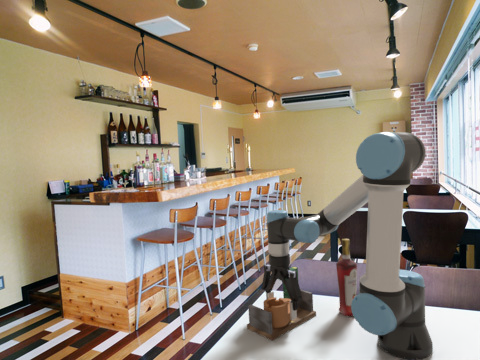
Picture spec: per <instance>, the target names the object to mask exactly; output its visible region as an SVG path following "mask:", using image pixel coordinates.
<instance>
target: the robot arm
mask: <svg viewBox="0 0 480 360" xmlns="http://www.w3.org/2000/svg"><path fill="white" fill-rule="evenodd" d="M425 159H426V146H425V144H424V143H423V141H422V140H421V138H419V137H418V136H417V135H415V134H413V133H410V132H405V131H402V132H397V131H396V132H393V131H383V132H382V131H381V132H377V133H372V134H370V135H368V136H367V137H366V138H364V139H363V141H362V142H361V143H360V144H359V145H358V148H357V150H356V154H355V164H356V166H357V169H358V170H359V171H360V173H361V174H362V175H361V176H360V177H358V178H357V179H356V180H355V181H354V182H353V183H351V184H350V185H349V186H348V187H347V188H346V189H344V190H343V191H342V192H341V193H339V195H338V196H337V197H335V198H334V199H333V200H332V201H331V202H330V203H328V204H327V205H326V206H325V207H324V208H323V209H321V210H320V211H319V212H318V213H316V214H312V215H309V216H305V217H300V218H295V217H289V215H288V213H289V212H288V211H287V210H284V209H274V210H270V211H268V212H267V214H266V230H267V245H268V248H267V250H268V264H266V265H264V266H263V270H264V272H263V277H262V282H261V290H264V291H265V293H266V295H265V296H266V299H268V298H274V297H275V295H274V294H275V293H274V287H275V284H276V282H277V280H279V281H281V282H282V284H283V283H284V285H285V287H286V290H287V292H288V294H289V296H290V299H291V301H289V303H290V319H291V320H293V319H295V318H297V309H298V301H299V300H301V299H302V295H301V291H300V289H301V288H300V284H299V279H298V280H297V272H296V271H294V272H293V271H290V269H289V268H290V264H291V256H290V255H291V254H290V241H293V242H294V241H295V242H298V243H299V242H300V243H302V244H312V243H315V242H316V240H317V239H318V238H319V237H320V236H321V237H322V236H325V235H329V234H331V233H333V232H335V231H337V230H338V228H339V226H340V224H341V223H343V222H344V221H346V219H348V218H349V217H351V215H353V214H355V213H356V212H357V211H358V210H361V208H362V207H363V206H365V205H366V204H367V223H366V224H367V228H366V231H367V232H366V250H365V251H366V253H365V254H366V255H365V273H364V274H363V275H361V276H360V277H359V287H358V288H359V289H358V293H356V296H355V297H354V298H353V300H352V303H351V309H352V313H353V316H352V317H354V320H355V321H356V322H357V323H358V325H359V326H360V327H361V328H362V329H363V331H366V332H367V333H369V334H372V335H374V336H377V344H378V346H379V347H380V349H382V350H383V351H384V352H385V353H387V354H389V355H391V356H394V357H397V358H400V359H405V360H422V359H426V358H428V357H430V356H431V355H432V354H433V351H434V349H433V348H434V347H433V346H434V345H433V340H432V337H431V335H430V333H429V330H428V326H427V324H426V292H425V291H426V289H425V288H426V286H425V279H424V277H423V276H422V274H420V273H418V272H415V271H411V270H407V269H402V268H400V267H401V252H402V251H401V246H402V232H403V231H402V230H403V227H402V226H403V207H404V191H405V190H406V189H407V188H408V187H409V186H411V179H412V173H414V172H416V171H417V170H418V169H420V167H421V166H422V165H423V163H424V161H425ZM286 278H287V280H285V279H286ZM266 299H265V300H266Z"/></svg>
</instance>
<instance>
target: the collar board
mask: <svg viewBox="0 0 480 360" xmlns="http://www.w3.org/2000/svg"><path fill="white" fill-rule="evenodd" d="M300 291H301V295H302V299H301V300H299V301H298V309H297V318H295V319H293V320H290V321H289V323H288V324H287V325H285V326H283V327H272V313H271V312H268V311H266V310H264V308H261V307H258V306H256V305H253V304H249V305H248V307H247V308H248V323H247V324H246V328H247V329H248V330H249V331H251V332H253V333H256V335H257V334H258V335H260V336H262V337H264V338H266V339H268V340H270V341H274V340H275V339H277V338H279V337H281V336H282V335H284V334H286V333H288V332H290V331H291V330H293V329H294V328H297V327H298V326H300V325H302V324H304V323H305V322H307V321H310V320H311V319H312V318H315V317H317V311H315V310H314V296H313V292H312V291H308V290H304V289H302V288H300Z"/></svg>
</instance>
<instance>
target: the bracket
mask: <svg viewBox="0 0 480 360" xmlns="http://www.w3.org/2000/svg"><path fill="white" fill-rule="evenodd" d="M289 301H291V299H289V298H284V297H279V298H278V299H277V297H276V296H274V298H268V299H265V300H263V302H262V303H263V310H266V311H268V312H271V313H272V327H283V326H285V325H287V324H288V323H289V321H290V320H291V319H290V303H289Z"/></svg>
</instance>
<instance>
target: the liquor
mask: <svg viewBox="0 0 480 360" xmlns="http://www.w3.org/2000/svg"><path fill="white" fill-rule="evenodd" d="M341 247H342V253H341V254H342V257H341V260H338V261H337V262H336V263H335V266H336V277H337V286H338V287H337V288H338V298H339V302H338V303H339V308H338V311H339V313H340V314H342V315H343V316H345V317H354V316H353V313H352V309H351V303H352V300H353V298H354V297H355V296H356V295H357V285H358V282H357V281H358V279H357V278H358V263H356V262H355V260H354V261H353V260H351V252H350V239H349V238H342V239H341Z"/></svg>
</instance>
